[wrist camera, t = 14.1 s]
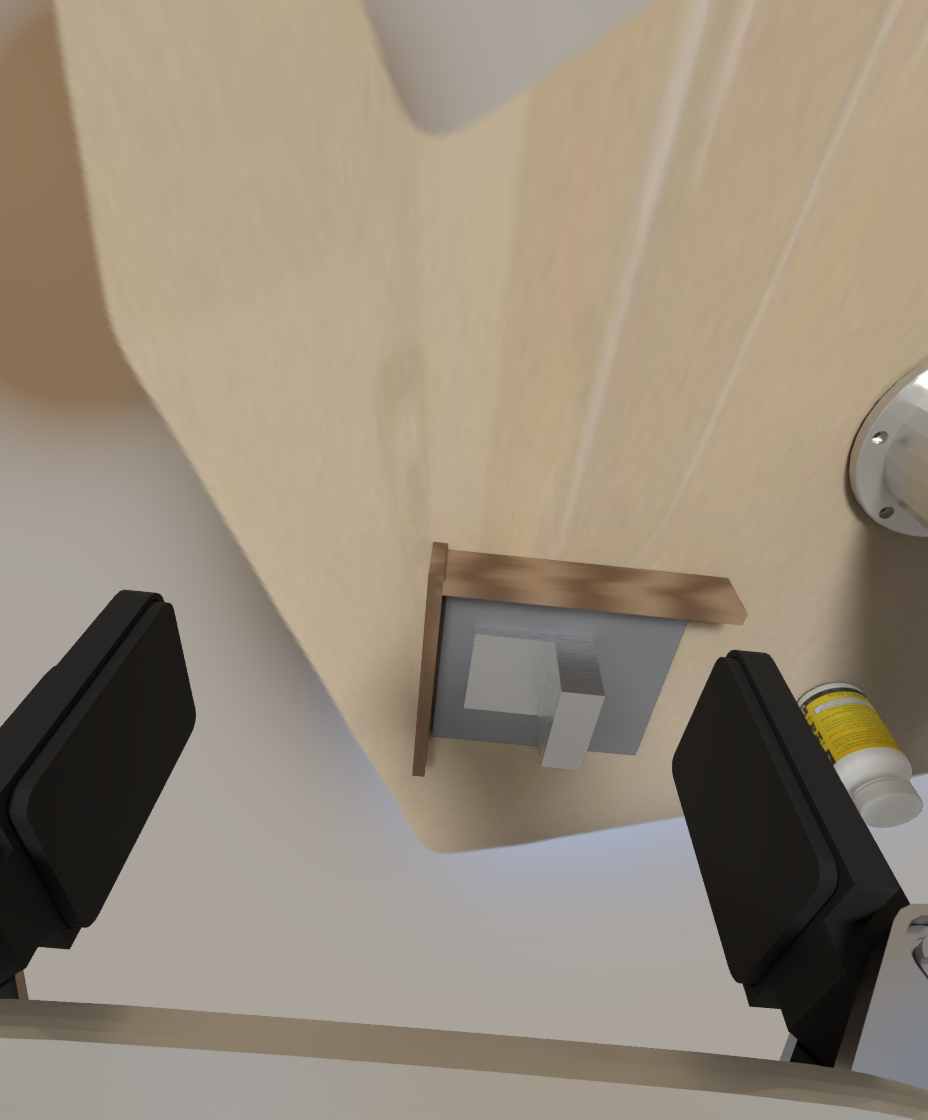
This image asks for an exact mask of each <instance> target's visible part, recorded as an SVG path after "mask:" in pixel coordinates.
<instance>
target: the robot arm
mask: <svg viewBox="0 0 928 1120" xmlns="http://www.w3.org/2000/svg"><path fill="white" fill-rule="evenodd" d="M849 475H850V483H851V488H852V491H853V493H854V496H855V498H856V501H857V502H858V503H859V504H860V506H861V507H862V508H863V510H864V511H865V512H866V513H867V514H868V515H869V516H870V517H871V518H872V519H873V520H874V521H876V522H877V523H878V524H880V525H882V526H884V527H885V528H887V529H889V530H891V531H894V532H897V533H901V534H904V535H908V536H917V537H928V360H927V361H925V362H923V363H922V364H920V365H919V366H917V367H916V368H915V369H913V370H912V371H911V372H909V373H908V374H907V375H905V376H904V377H903V378H902V379H900V380H899V381H898V382H897V383H896V384H895V385H894V386H893V387H892V388H891V389H890V390H889V391H888V392H887V393H886V394H885V395H884V396H883V397H882V398H881V399H880V400H879V402H878V403H877V404H876V406H875V407H874V408H873V410H872V411H871V412H870V414H869V415H868V416H867V418H866V420H865V422H864V424H863V425H862V427H861V429H860V431H859V433H858V435H857V437H856V440H855V443H854V446H853V449H852V452H851V458H850V467H849ZM195 719H196V710H195V705H194V701H193V696H192V692H191V687H190V683H189V677H188V673H187V668H186V664H185V659H184V654H183V650H182V645H181V640H180V636H179V631H178V627H177V622H176V617H175V613H174V609H173V606H172V605H171V604H170V603H166V602H164V600H163V597H162V596H161V595H160V594H158V593H151V592H142V591H131V590H122V591H120V592H119V593H117V595H115V596H114V598H113V599H112V600H111V601H110V602H109V604H108V605H107V606H106V607H105V609H104V610H103V611H102V612H101V613H100V614H99V615H98V617H97V618H96V619H95V620H94V621H93V623H92V624H91V625H90V626H89V627H88V629H87V630H86V631H85V632H84V633H83V635H82V636H81V637H80V638H79V639H78V641H77V642H76V643H75V644H74V645H73V646H72V648H71V649H70V650H69V651H68V653H67V654H66V655H65V656H64V657H63V658H62V660H61V661H60V662H59V663H58V664H57V665H56V666H54V667H53V668H52V669H51V670H49V671H48V672H47V673H46V674H45V675H44V676H43V678H42V679H41V680H40V681H39V682H38V684H37V685H36V686H35V687H34V688H33V689H32V691H31V692H30V693H29V694H28V695H27V697H26V698H25V699H24V700H23V701H22V702H21V704H20V705H19V706H18V707H17V708H16V710H15V711H14V712H13V713H12V714H11V715H10V717H9V718H8V719H7V720H6V721H5V722H4V724H3V725H2V726H1V727H0V1120H928V904H911V905H910V903H909V901H908V899H907V898H906V896H905V894H904V892H903V890H902V888H901V887H900V885H899V883H898V881H897V880H896V878H895V876H894V874H893V872H892V870H891V869H890V867H889V865H888V864H887V861H886V860H885V858H884V856H883V854H882V852H881V851H880V849H879V847H878V845H877V843H876V842H875V840H874V838H873V836H872V834H871V833H870V831H869V829H868V827H867V825H866V824H865V822H864V820H863V818H862V817H861V815H860V813H859V811H858V809H857V808H856V806H855V804H854V802H853V800H852V799H851V797H850V795H849V793H848V791H847V790H846V788H845V786H844V784H843V782H842V781H841V779H840V777H839V775H838V773H837V772H836V770H835V768H834V766H833V764H832V763H831V761H830V759H829V757H828V755H827V754H826V752H825V750H824V748H823V747H822V745H821V744H820V743H819V741H818V740H817V738H816V736H815V734H814V733H813V731H812V729H811V727H810V725H809V724H808V722H807V720H806V718H805V716H804V715H803V713H802V711H801V709H800V707H799V706H798V704H797V702H796V700H795V698H794V697H793V695H792V693H791V691H790V689H789V687H788V686H787V684H786V682H785V680H784V678H783V677H782V675H781V673H780V671H779V669H778V668H777V666H776V664H775V662H774V660H773V659H772V658H771V656H770V655H768V654H767V653H760V652H750V651H740V650H731V651H730V652H729V653H728V654H727V656H726V657H720V658H719V659H717V661H716V663H715V665H714V667H713V669H712V671H711V674H710V676H709V678H708V680H707V683H706V685H705V687H704V689H703V691H702V694H701V696H700V698H699V700H698V703H697V705H696V707H695V709H694V712H693V714H692V716H691V718H690V720H689V723H688V725H687V727H686V729H685V732H684V734H683V736H682V738H681V740H680V743H679V745H678V747H677V749H676V752H675V754H674V757H673V761H672V774H673V778H674V782H675V785H676V789H677V792H678V796H679V799H680V802H681V806H682V809H683V813H684V816H685V820H686V823H687V826H688V829H689V833H690V837H691V840H692V844H693V847H694V850H695V854H696V857H697V861H698V864H699V867H700V871H701V874H702V878H703V881H704V885H705V888H706V891H707V895H708V898H709V902H710V905H711V909H712V912H713V916H714V919H715V923H716V926H717V930H718V933H719V936H720V940H721V943H722V946H723V950H724V954H725V957H726V960H727V964H728V967H729V970H730V973H731V975H732V977H733V978H734V980H735V981H736V982H737V983H743V986H744V990H745V993H746V996H747V999H748V1003H749V1006H750V1007H762V1008H775V1009H781V1011H782V1014H783V1017H784V1020H785V1023H786V1026H787V1029H788V1031H789V1032H790V1034H789V1036H788V1039H787V1041H786V1044H785V1047H784V1050H783V1053H782V1055H781V1058H780V1060H779V1061H776V1060H766V1059H757V1058H747V1057H738V1056H729V1055H720V1054H710V1053H701V1052H690V1051H678V1050H667V1049H654V1048H643V1047H632V1046H621V1045H609V1044H598V1043H586V1042H574V1041H562V1040H551V1039H539V1038H528V1037H517V1036H505V1035H493V1034H481V1033H468V1032H455V1031H444V1030H432V1029H420V1028H408V1027H395V1026H383V1025H371V1024H359V1023H346V1022H333V1021H322V1020H309V1019H295V1018H283V1017H270V1016H257V1015H243V1014H230V1013H218V1012H205V1011H204V1012H203V1011H192V1010H179V1009H165V1008H152V1007H140V1006H127V1005H109V1004H92V1003H74V1002H57V1001H40V1000H29V998H28V993H27V988H26V982H25V977H24V971H23V970H24V969H25V968H26V967H27V965H28V963H29V962H30V960H31V958H32V956H33V955H34V953H35V951H36V949H37V948H38V947H47V948H59V949H70V948H71V946H72V944H73V942H74V940H75V938H76V937H77V934H78V933H79V931H80V929H81V927H83V928H86V927H89V926H90V925H91V924H92V923H93V922H94V921H95V920H96V918H97V916H98V915H99V913H100V911H101V909H102V907H103V905H104V903H105V901H106V899H107V897H108V895H109V893H110V891H111V889H112V887H113V886H114V884H115V882H116V880H117V877H118V876H119V874H120V872H121V870H122V868H123V866H124V864H125V862H126V860H127V858H128V856H129V854H130V852H131V850H132V848H133V846H134V844H135V843H136V841H137V839H138V837H139V834H140V833H141V831H142V829H143V827H144V825H145V823H146V821H147V819H148V817H149V815H150V813H151V811H152V809H153V807H154V805H155V803H156V801H157V799H158V798H159V796H160V794H161V791H162V790H163V788H164V786H165V784H166V782H167V780H168V778H169V776H170V774H171V772H172V770H173V768H174V766H175V764H176V762H177V760H178V758H179V757H180V755H181V752H182V751H183V749H184V747H185V745H186V743H187V741H188V739H189V737H190V735H191V733H192V731H193V728H194V724H195Z"/></svg>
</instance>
